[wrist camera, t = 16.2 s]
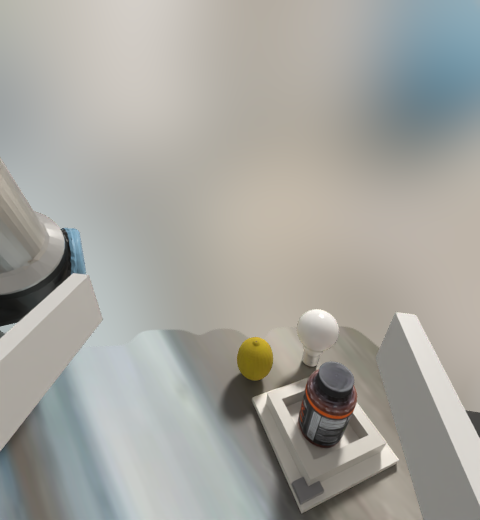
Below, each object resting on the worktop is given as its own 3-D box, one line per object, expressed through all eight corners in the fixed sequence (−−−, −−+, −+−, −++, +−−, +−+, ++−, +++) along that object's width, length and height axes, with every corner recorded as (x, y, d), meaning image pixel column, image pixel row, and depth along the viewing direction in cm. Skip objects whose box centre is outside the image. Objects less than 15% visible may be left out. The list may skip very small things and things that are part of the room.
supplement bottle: (299, 400, 42) (312, 348, 36) (341, 411, 41) (362, 360, 35) (294, 442, 37) (308, 390, 31) (342, 456, 36) (366, 406, 30)
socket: (251, 401, 43) (253, 387, 41) (329, 373, 47) (334, 359, 45) (301, 513, 32) (306, 501, 30) (396, 463, 36) (406, 450, 35)
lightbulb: (330, 381, 46) (346, 333, 40) (290, 375, 47) (300, 327, 41) (326, 350, 51) (340, 303, 45) (290, 345, 52) (299, 298, 46)
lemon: (234, 362, 49) (235, 328, 44) (266, 359, 49) (270, 326, 45) (238, 392, 44) (240, 358, 40) (274, 388, 45) (279, 354, 40)
